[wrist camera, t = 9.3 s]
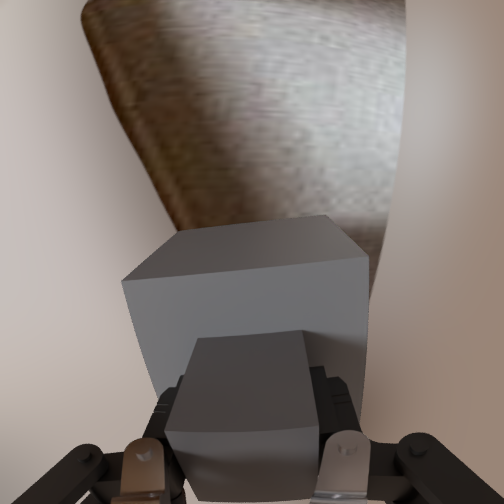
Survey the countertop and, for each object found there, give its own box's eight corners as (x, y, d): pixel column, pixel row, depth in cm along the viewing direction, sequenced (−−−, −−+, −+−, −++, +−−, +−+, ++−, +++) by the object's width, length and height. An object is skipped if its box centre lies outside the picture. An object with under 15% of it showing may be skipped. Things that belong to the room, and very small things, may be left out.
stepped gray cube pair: (178, 231, 20) (49, 348, 7) (325, 214, 19) (432, 322, 6) (203, 354, 22) (154, 521, 9) (331, 343, 22) (379, 513, 9)
